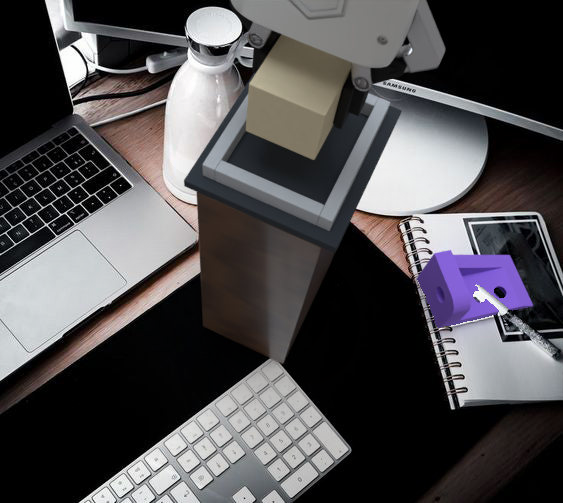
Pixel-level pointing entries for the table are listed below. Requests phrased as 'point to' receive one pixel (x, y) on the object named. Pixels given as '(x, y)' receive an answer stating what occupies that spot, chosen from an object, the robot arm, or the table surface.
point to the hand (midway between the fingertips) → (307, 95)
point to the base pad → (295, 172)
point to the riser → (255, 278)
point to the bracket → (469, 286)
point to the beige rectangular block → (296, 96)
